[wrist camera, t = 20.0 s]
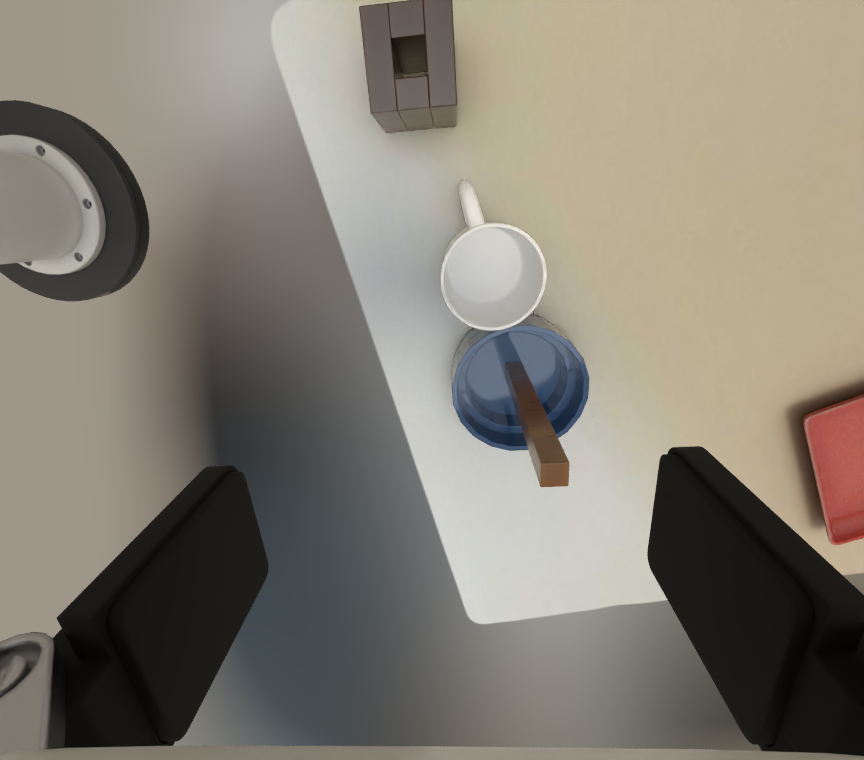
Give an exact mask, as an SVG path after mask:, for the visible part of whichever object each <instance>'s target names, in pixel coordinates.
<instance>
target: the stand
mask: <svg viewBox="0 0 864 760" xmlns="http://www.w3.org/2000/svg"><path fill="white" fill-rule="evenodd" d="M359 10H360V19H361V28H362V38H363V47H364V56H365V65H366V74H367V83H368V93H369V102H370V111H371V114H372V115H373V116H374V118H375V119H376V120H377V122H378V123H379V124H380V125H381V127H382V128H383V129H384V130H385V132H386V133H392V132H403V131H413V130H423V129H433V128H444V127H455V126H456V118H457V93H456V71H455V50H454V28H453V7H452V0H409V1H401V2H392V3H383V4H375V5H366V6H359ZM424 71H427V72H428V76H419V77H409V78H404V77H403V73H404V74H405V73H415V72H424Z"/></svg>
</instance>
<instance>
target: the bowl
mask: <svg viewBox="0 0 864 760" xmlns="http://www.w3.org/2000/svg"><path fill="white" fill-rule="evenodd" d="M515 362H522V364H523V366H524V368H525V370H526V372H527V374H528V376H529V379H530V381H531V383H532V385H533V387H534V389H535V391H536V393H537V395H538V398H539V400H540V402H541V404H542V406H543V408H544V410H545V412H546V415H547V417H548V419H549V421H550V423H551V425H552V427H553V429H554V431H555V434H556V436H557V438H559V437H561V436H562V435H564V434H565V433H567V432H568V430H569V429H570V428H571V427H572V426H573V425H574V423H575V422H576V421H577V420H578V419H579V417H580V416H581V414H582V411H583V409H584V406H585V404H586V401H587V399H588V390H589V375H588V372H587V369H586V365H585V362H584V359H583V357H582V356H581V355H580V353H579V352H578V351H577V349H576V348H575V347H574V345H573V344H572V343H571V342H570V341H569V340H568V339H567V337H566V336H565V335H564V334H563V333H562V332H561V331H560V330H559V329H558V328H557V327H555V326H554V325H552V324H551V323H549V322H548V321H546V320H545V319H543V318H541V317H537V316H533V315H529V316H528V317H526V318H525V319H524V320H523V321H521V322H520V323H518V324H516V325H514V326H512V327H509V328H506V329H502V330H495V331H487V330H480V329H476V328H474V329H473V330H472V331H470V332H469V333H468V334H467V335H466V337H465V338H464V340H463V341H462V343H461V344H460V346H459V347H458V349H457V351H456V355H455V358H454V362H453V366H452V393H453V405H454V407H455V410H456V412H457V414H458V417H459V419H460V421H461V423H462V424H463V425H464V426H465V427H466V428H467V430H468V431H469V432H470V433H471V434H472V435H473V436H474V437H476V438H477V439H479V440H481V441H483V442H484V443H486V444H488V445H490V446H492V447H497V448H501V449H505V450H509V451H514V450H528V447H527V444H526V440H525V437H524V434H523V431H522V428H521V425H520V422H519V419H518V416H517V413H516V410H515V407H514V403H513V400H512V397H511V394H510V391H509V388H508V385H507V382H506V379H505V363H515Z"/></svg>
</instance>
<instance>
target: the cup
mask: <svg viewBox="0 0 864 760" xmlns="http://www.w3.org/2000/svg"><path fill="white" fill-rule="evenodd" d="M458 191H459V196H460V201H461V205H462V209H463V213H464V218H465V222H466V226H467V227H466V228H465V229H463V230H461V231H460V232H459V233H458V234H457V235H456V236H455V237H454V238H453V239H452V241H451V242H450V244H449V245H448V247H447V250H446V252H445V255H444V259H443V264H442V268H441V275H440V283H441V290H442V294H443V297H444V300H445V302H446V304H447V306H448V307H449V309H450V310H451V312H452V313H453V314H454V315H455V316H456V317H457V318H458V319H459V320H461V321H462V322H463V323H465V324H467V325H469V326H471V327H473V328H476V329H480V330H487V331H495V330H502V329H506V328H509V327H512V326H514V325H516V324H518V323H520V322H521V321H523V320H524V319H525V318H526V317H528V316H529V315H530V314H531V313H532V312H533V310H534V309H535V308H536V306H537V305H538V303H539V302H540V300H541V298H542V295H543V293H544V290H545V285H546V279H547V271H546V263H545V259H544V256H543V254H542V252H541V250H540V248H539V246H538V245H537V243H536V242H535V241H534V240H533V238H531V237H530V236H529V235H528V234H527V233H526V232H524V231H523V230H521V229H519V228H517V227H515V226H512V225H508V224H503V223H495V222H485V221H484V218H483V214H482V211H481V208H480V204H479V201H478V198H477V195H476V193H475V190H474V188H473V186H472V184H471V182H470V181H469V180H466V179H463V180H461V181H460V182H459V184H458Z"/></svg>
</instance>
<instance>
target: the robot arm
mask: <svg viewBox="0 0 864 760" xmlns="http://www.w3.org/2000/svg"><path fill="white" fill-rule="evenodd" d="M105 233H106V221H105V213H104V209H103V206H102V202H101V199H100V197H99V195H98V193H97V190H96V188H95V186H94V185H93V183H92V182H91V180H90V178H89V177H88V175H87V174H86V173H85V172H84V170H83V169H82V168H81V167H80V166H79V165H78V163H77V162H75V161H74V160H73V159H72V158H71V157H70V156H69V155H67V154H66V153H65V152H63V151H62V150H60V149H59V148H57V147H56V146H54V145H52V144H50V143H47V142H45V141H43V140H40V139H36V138H32V137H27V136H20V135H4V136H0V265H1V264H11V263H19V264H20V265H22V266H24V267H26V268H29V269H31V270H34V271H36V272H40V273H45V274H57V275H60V274H67V273H73V272H76V271H79V270H82V269H84V268H85V267H87V266H89V265H90V264H91V263H92V262H93V261H94V260H95V259H96V258H97V256H98V255H99V253H100V251H101V249H102V247H103V243H104V240H105ZM648 562H649V566H650V568H651V571H652V573H653V574H654V576H655V578H656V580H657V581H658V583H659V585H660V587H661V589H662V590H663V592H664V594H665V596H666V598H667V599H668V601H669V603H670V604H671V606H672V608H673V610H674V612H675V614H676V615H677V617H678V619H679V621H680V622H681V624H682V626H683V628H684V630H685V631H686V633H687V635H688V637H689V639H690V640H691V642H692V644H693V646H694V647H695V649H696V651H697V653H698V655H699V656H700V658H701V660H702V662H703V663H704V665H705V667H706V669H707V671H708V672H709V674H710V676H711V678H712V680H713V681H714V683H715V684H716V687H717V688H718V690H719V692H720V694H721V695H722V697H723V699H724V701H725V703H726V704H727V706H728V708H729V710H730V712H731V713H732V715H733V717H734V719H735V720H736V722H737V724H738V726H739V728H740V729H741V731H742V733H743V734H744V736H745V737H746V739H747V740H748V741H749V742H750V743H752V744H758V745H759V746H760V748H761V750H762V751H740V750H739V751H737V750H707V749H631V748H630V749H628V748H627V749H625V748H550V747H549V748H548V747H540V748H539V747H428V746H427V747H425V746H423V747H422V746H173V744H174V742H175V741H179V740H180V739H182V737H183V736H184V735H185V734H186V732H187V730H188V729H189V727H190V725H191V723H192V721H193V719H194V717H195V715H196V713H197V711H198V709H199V707H200V705H201V703H202V702H203V699H204V698H205V696H206V694H207V692H208V690H209V688H210V686H211V684H212V682H213V680H214V678H215V676H216V674H217V673H218V671H219V669H220V667H221V665H222V662H223V661H224V659H225V657H226V655H227V653H228V651H229V649H230V647H231V645H232V643H233V641H234V639H235V638H236V636H237V634H238V632H239V630H240V628H241V626H242V624H243V622H244V620H245V618H246V616H247V614H248V612H249V611H250V609H251V607H252V604H253V603H254V601H255V599H256V597H257V595H258V593H259V591H260V589H261V587H262V585H263V583H264V581H265V579H266V577H267V573H268V560H267V556H266V553H265V549H264V545H263V541H262V538H261V534H260V530H259V527H258V523H257V519H256V516H255V512H254V508H253V504H252V501H251V497H250V493H249V490H248V486H247V482H246V479H245V476H244V474H243V473H242V472H238V470H237V469H236V468H235V467H234V466H212V467H211V466H210V467H206V468H205V469H203V470H202V471H201V472H200V473H199V474H198V475H197V476H196V477H195V478H194V479H193V480H192V481H191V482H190V483H189V484H188V485H187V486H186V487H185V488H184V489H183V491H182V492H181V493H179V495H177V496H176V497H175V499H174V500H173V501H172V502H171V503H170V504H169V505H168V506H167V507H166V508H165V509H164V510H163V511H162V512H161V513H160V514H159V515H158V516H157V517H156V518H155V519H154V520H153V521H152V522H151V523H150V524H149V525H148V526H147V527H146V528H145V529H144V530H143V531H142V532H141V533H140V534H139V535H138V536H137V537H136V538H135V539H134V540H133V541H132V542H131V543H130V544H129V545H128V546H127V547H126V548H125V549H124V550H123V551H122V552H121V553H120V554H119V555H118V556H117V557H116V558H115V559H114V560H113V562H111V563H110V564H109V565H108V566H107V567H106V568H105V570H103V572H101V573H100V574H99V575H98V576H97V577H96V578H95V580H94V581H93V582H92V583H91V584H90V585H89V586H88V587H87V588H86V589H85V590H84V591H83V592H82V593H81V594H80V595H79V596H78V597H77V598H76V599H75V600H74V601H73V602H72V603H71V604H70V605H69V606H68V607H67V608H66V609H65V610H64V611H63V612H62V613H61V614H60V615H59V616H58V617H57V620H58V622H59V623H60V625H61V627H62V629H61V630H60V631H59V632H58V633H57V634H56V636H55V637H54V638H52V637H50V636H49V635H47V634H46V633H41V632H30V633H25V634H20V635H17V636H14V637H11V638H9V639H6V640H3V641H1V642H0V760H864V595H863V594H862V593H861V592H860V591H859V590H858V589H857V588H855V587H854V586H853V585H852V584H851V583H850V582H849V581H848V580H847V579H845V577H844V576H842V575H841V574H840V573H839V572H838V571H837V570H836V569H835V568H834V567H833V566H832V565H830V564H829V563H828V562H827V561H826V560H825V559H824V558H823V557H822V556H821V555H820V554H819V553H817V552H816V551H815V550H814V549H813V548H812V547H811V546H810V545H809V544H808V543H807V542H806V541H804V540H803V539H802V538H801V537H800V536H799V535H798V534H797V533H796V532H795V531H794V530H793V529H791V528H790V527H789V526H788V525H787V524H786V523H785V522H784V521H783V520H782V519H781V518H779V517H778V516H777V515H776V514H775V513H774V512H773V511H772V510H771V509H770V508H769V507H768V506H766V505H765V504H764V503H763V502H762V501H761V500H760V499H759V498H758V497H757V496H756V495H755V494H753V493H752V492H751V491H750V490H749V489H748V488H747V487H746V486H745V485H744V484H743V483H741V482H740V481H739V480H738V479H737V478H736V477H735V476H734V475H733V474H732V473H731V472H730V471H728V470H727V469H726V468H725V467H724V466H723V465H722V464H721V463H720V462H719V461H718V460H717V459H715V458H714V457H713V456H712V455H711V454H710V453H709V452H708V451H707V450H706V449H704V448H703V447H699V446H697V447H673V448H671V449H670V450H669V452H668V454H666V455H662V456H661V458H660V462H659V470H658V477H657V485H656V492H655V500H654V507H653V515H652V522H651V530H650V537H649V545H648Z"/></svg>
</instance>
